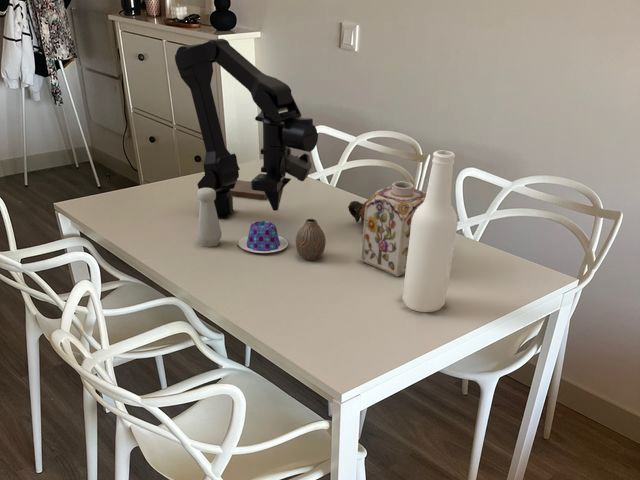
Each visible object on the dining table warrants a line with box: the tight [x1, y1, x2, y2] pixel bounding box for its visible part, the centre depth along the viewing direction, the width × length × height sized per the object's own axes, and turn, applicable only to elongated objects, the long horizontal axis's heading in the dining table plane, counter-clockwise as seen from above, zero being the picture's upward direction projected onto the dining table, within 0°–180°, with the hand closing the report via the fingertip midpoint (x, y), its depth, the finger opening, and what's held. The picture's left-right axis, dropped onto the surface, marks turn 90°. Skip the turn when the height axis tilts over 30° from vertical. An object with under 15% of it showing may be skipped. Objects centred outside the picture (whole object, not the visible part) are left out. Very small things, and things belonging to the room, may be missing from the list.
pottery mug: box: [347, 199, 370, 223], centre depth 170 cm, size 12×10×8 cm
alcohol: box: [401, 149, 459, 313], centre depth 129 cm, size 9×9×30 cm
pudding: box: [237, 220, 289, 254], centre depth 158 cm, size 12×12×5 cm
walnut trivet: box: [230, 179, 268, 201], centre depth 191 cm, size 12×10×2 cm
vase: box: [295, 218, 326, 261], centre depth 153 cm, size 7×7×9 cm
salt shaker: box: [196, 188, 222, 248], centre depth 156 cm, size 6×6×13 cm
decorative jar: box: [360, 180, 427, 277], centre depth 149 cm, size 12×12×18 cm
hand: (275, 210), depth 164 cm, fingers closed
